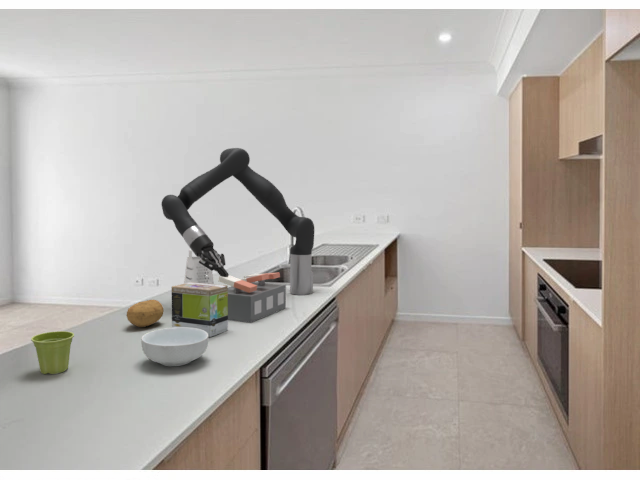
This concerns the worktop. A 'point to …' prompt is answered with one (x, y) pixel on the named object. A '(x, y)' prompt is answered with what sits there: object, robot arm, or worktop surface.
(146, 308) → the potato
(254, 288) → the rocker
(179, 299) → the tea box
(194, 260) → the grater
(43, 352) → the plant pot
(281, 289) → the switch console
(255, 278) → the block
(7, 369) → the worktop surface
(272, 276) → the block
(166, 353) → the cereal bowl
